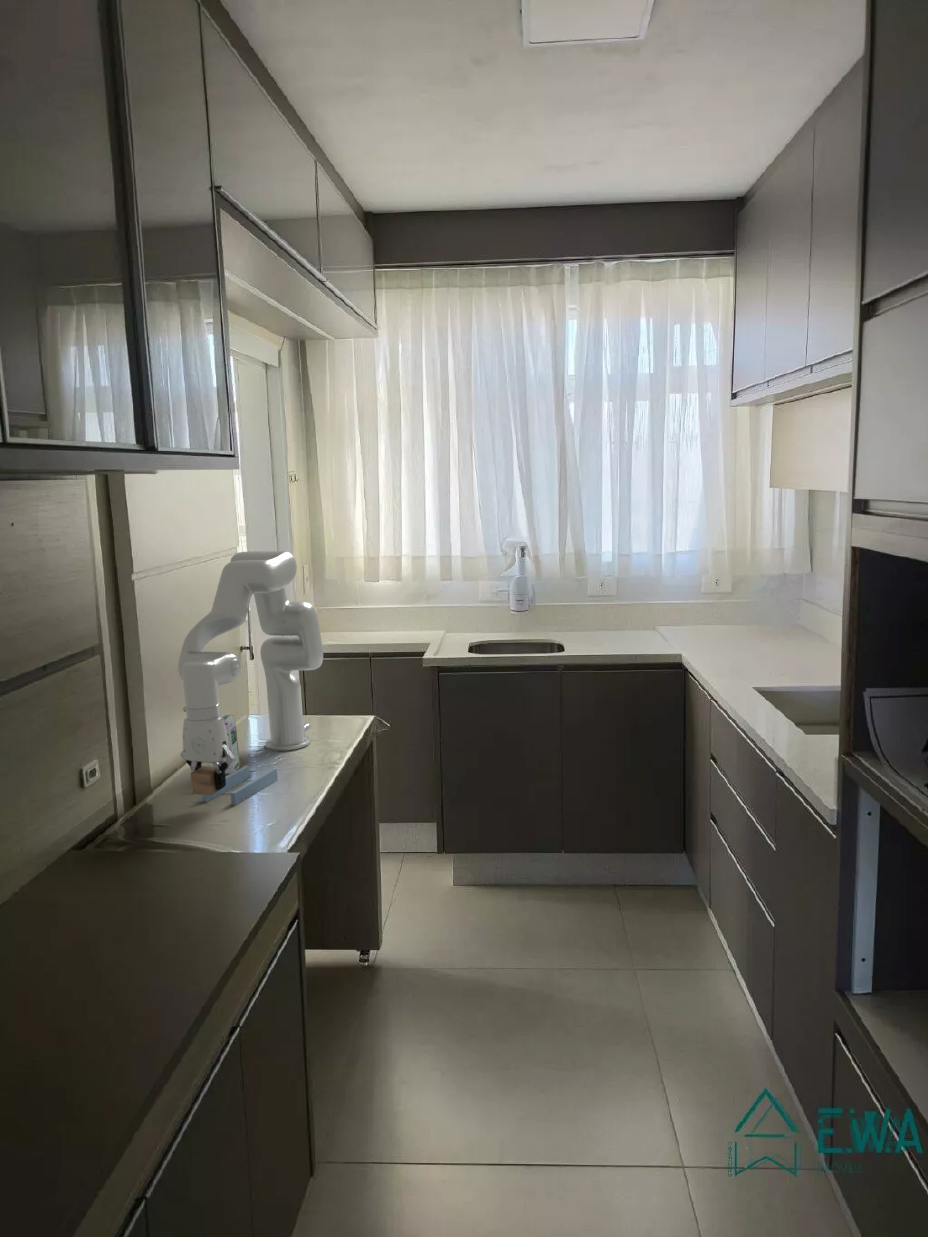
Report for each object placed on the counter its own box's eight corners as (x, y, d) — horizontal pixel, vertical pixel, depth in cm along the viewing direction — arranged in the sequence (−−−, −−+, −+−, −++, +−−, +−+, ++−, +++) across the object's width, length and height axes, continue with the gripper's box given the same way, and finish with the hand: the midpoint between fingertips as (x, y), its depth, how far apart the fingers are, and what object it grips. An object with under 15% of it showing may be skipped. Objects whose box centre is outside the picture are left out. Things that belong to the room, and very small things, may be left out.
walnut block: (206, 785, 213) (204, 765, 213) (223, 787, 212) (221, 767, 211) (192, 793, 209) (190, 773, 208) (210, 795, 207) (208, 774, 206)
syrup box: (234, 773, 235) (230, 720, 233) (212, 774, 235) (207, 721, 233) (240, 766, 241) (236, 714, 238) (218, 767, 241) (214, 715, 239)
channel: (246, 776, 232) (245, 765, 232) (277, 780, 229) (276, 768, 229) (202, 801, 216) (201, 789, 215) (235, 805, 212) (234, 793, 212)
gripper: (162, 714, 207) (170, 789, 211) (224, 719, 201) (231, 796, 205) (183, 705, 214) (191, 778, 218) (243, 710, 208) (250, 784, 211)
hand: (210, 786), depth 211 cm, fingers closed on walnut block, 5 cm apart
